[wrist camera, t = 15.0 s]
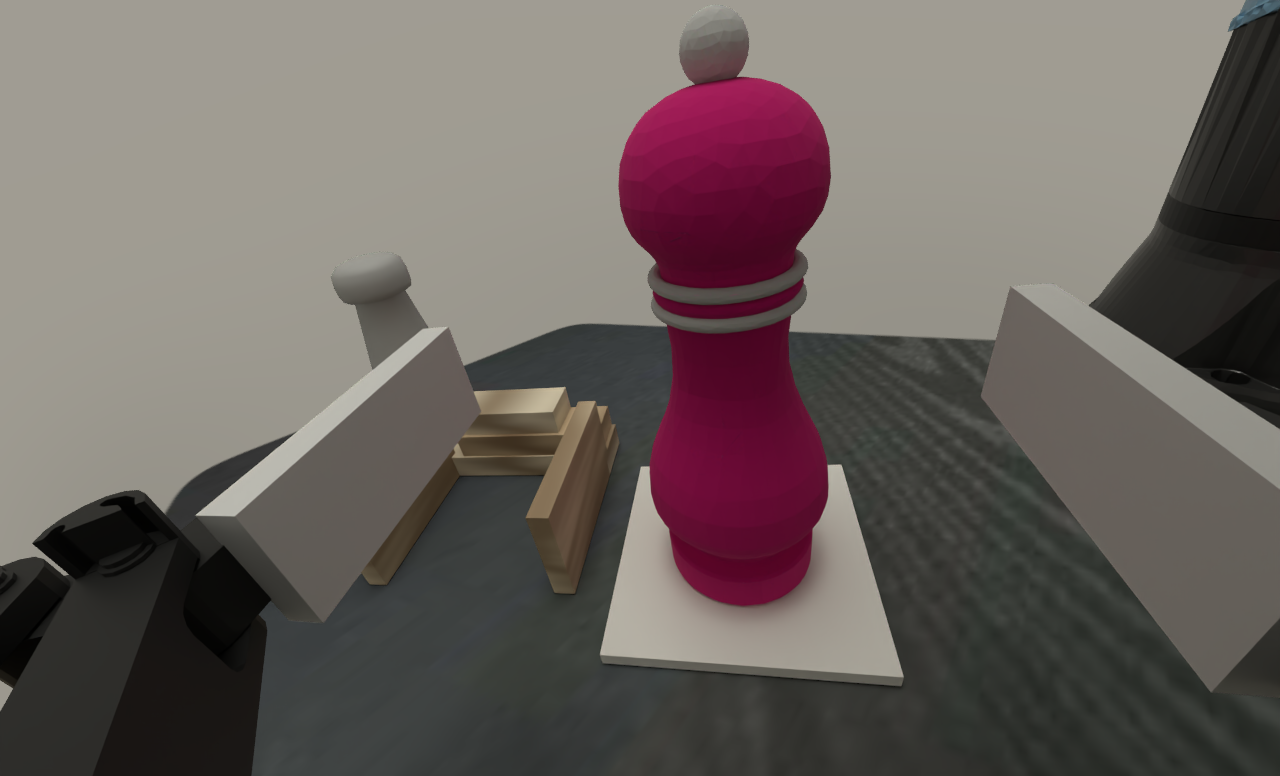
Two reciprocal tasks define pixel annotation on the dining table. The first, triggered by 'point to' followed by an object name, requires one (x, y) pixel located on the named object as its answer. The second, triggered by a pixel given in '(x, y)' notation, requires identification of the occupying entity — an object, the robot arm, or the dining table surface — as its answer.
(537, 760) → the dining table surface
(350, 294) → the salt shaker
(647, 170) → the pepper mill
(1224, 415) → the robot arm
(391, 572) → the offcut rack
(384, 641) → the dining table surface
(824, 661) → the mat
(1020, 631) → the dining table surface
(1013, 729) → the dining table surface
